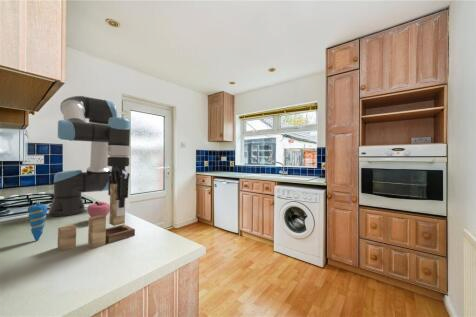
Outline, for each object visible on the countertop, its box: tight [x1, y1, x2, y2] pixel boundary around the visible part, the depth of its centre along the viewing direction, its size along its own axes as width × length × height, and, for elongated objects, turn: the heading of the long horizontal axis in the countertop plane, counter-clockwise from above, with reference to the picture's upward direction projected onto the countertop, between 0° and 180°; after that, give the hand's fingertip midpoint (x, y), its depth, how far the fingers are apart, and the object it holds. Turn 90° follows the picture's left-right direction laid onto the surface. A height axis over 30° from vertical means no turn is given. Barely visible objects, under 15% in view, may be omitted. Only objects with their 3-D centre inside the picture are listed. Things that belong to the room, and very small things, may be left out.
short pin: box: [57, 224, 77, 252], centre depth 69 cm, size 4×4×7 cm
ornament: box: [27, 200, 48, 242], centre depth 74 cm, size 5×5×15 cm
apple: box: [87, 201, 110, 218], centre depth 98 cm, size 10×9×10 cm
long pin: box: [108, 183, 126, 227], centre depth 80 cm, size 4×4×16 cm
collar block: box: [105, 223, 136, 244], centre depth 80 cm, size 10×10×2 cm
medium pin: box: [87, 215, 107, 249], centre depth 72 cm, size 4×4×10 cm
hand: (117, 214), depth 80 cm, fingers closed on long pin, 4 cm apart
